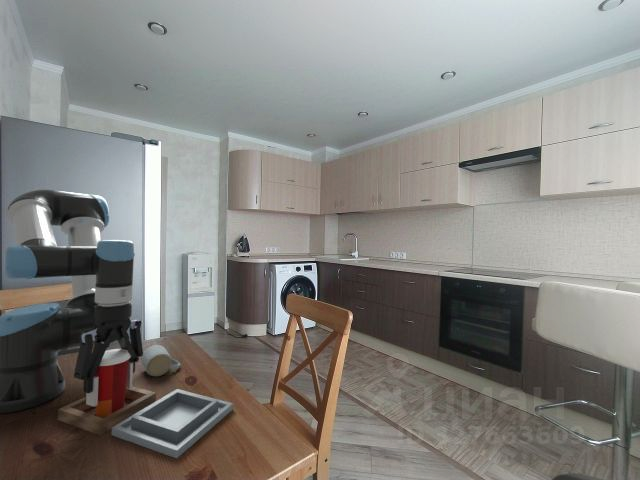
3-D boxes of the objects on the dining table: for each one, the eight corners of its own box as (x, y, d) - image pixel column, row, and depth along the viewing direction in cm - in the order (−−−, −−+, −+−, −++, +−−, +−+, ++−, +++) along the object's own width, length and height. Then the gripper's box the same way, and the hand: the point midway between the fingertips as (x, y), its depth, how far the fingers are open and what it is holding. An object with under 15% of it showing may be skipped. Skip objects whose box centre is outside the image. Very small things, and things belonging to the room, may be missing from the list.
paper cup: (126, 398, 78) (128, 345, 78) (130, 412, 72) (133, 355, 72) (89, 408, 73) (91, 352, 73) (90, 424, 67) (92, 363, 67)
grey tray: (111, 435, 64) (112, 420, 64) (177, 394, 81) (177, 383, 81) (176, 458, 58) (177, 442, 58) (232, 409, 75) (233, 397, 75)
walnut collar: (57, 419, 68) (58, 409, 68) (117, 391, 81) (117, 382, 81) (100, 435, 64) (100, 423, 64) (155, 402, 77) (156, 392, 77)
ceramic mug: (146, 381, 88) (147, 355, 88) (139, 371, 94) (141, 346, 94) (183, 371, 95) (185, 347, 95) (175, 363, 101) (176, 340, 101)
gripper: (77, 314, 61) (73, 423, 61) (161, 297, 81) (157, 380, 81) (53, 310, 64) (50, 415, 64) (140, 294, 83) (137, 374, 83)
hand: (110, 395), depth 72 cm, fingers open, 8 cm apart
